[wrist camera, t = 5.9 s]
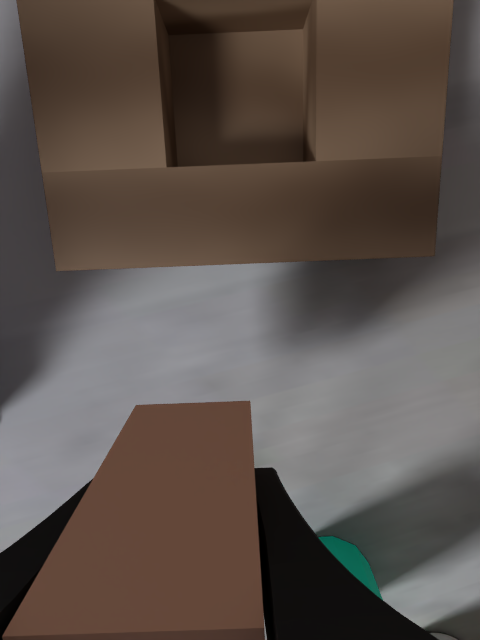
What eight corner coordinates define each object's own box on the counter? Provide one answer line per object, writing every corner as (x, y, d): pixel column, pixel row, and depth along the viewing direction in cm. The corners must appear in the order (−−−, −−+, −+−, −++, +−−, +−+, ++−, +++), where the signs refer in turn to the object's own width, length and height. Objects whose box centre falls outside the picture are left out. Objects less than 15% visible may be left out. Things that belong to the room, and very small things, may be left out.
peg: (253, 500, 15) (270, 808, 7) (146, 503, 15) (42, 815, 7) (250, 401, 14) (264, 627, 6) (135, 405, 14) (2, 636, 6)
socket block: (395, 250, 19) (434, 256, 16) (92, 262, 20) (56, 271, 16) (411, -66, 16) (465, -156, 13) (53, -49, 17) (-4, -134, 13)
